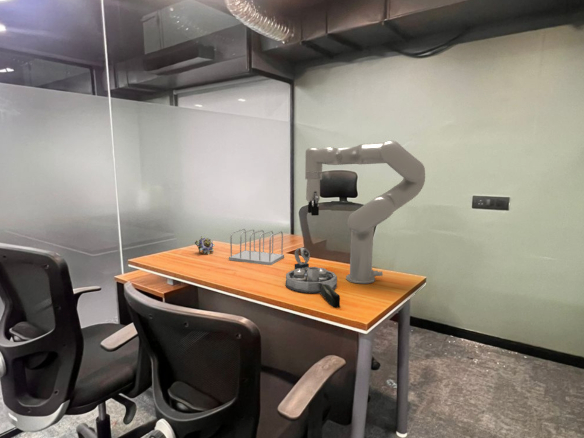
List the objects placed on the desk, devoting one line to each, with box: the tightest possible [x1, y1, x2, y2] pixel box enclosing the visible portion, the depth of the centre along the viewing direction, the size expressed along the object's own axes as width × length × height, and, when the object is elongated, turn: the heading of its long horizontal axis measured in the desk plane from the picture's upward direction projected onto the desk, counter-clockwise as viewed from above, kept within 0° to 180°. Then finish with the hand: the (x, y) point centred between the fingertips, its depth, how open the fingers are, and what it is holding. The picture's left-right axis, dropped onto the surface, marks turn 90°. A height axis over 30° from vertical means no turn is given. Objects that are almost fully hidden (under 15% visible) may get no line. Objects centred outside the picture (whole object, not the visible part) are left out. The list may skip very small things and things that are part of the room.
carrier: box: [285, 267, 338, 295], centre depth 146 cm, size 22×22×6 cm
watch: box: [294, 247, 311, 269], centre depth 168 cm, size 6×8×11 cm
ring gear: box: [285, 268, 338, 291], centre depth 146 cm, size 21×21×3 cm
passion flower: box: [194, 236, 216, 255], centre depth 202 cm, size 11×11×12 cm
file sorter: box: [228, 228, 285, 266], centre depth 188 cm, size 25×17×16 cm
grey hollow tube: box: [307, 266, 320, 282], centre depth 141 cm, size 6×6×8 cm
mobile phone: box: [319, 284, 341, 308], centre depth 129 cm, size 5×3×15 cm
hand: (313, 214), depth 158 cm, fingers open, 9 cm apart
